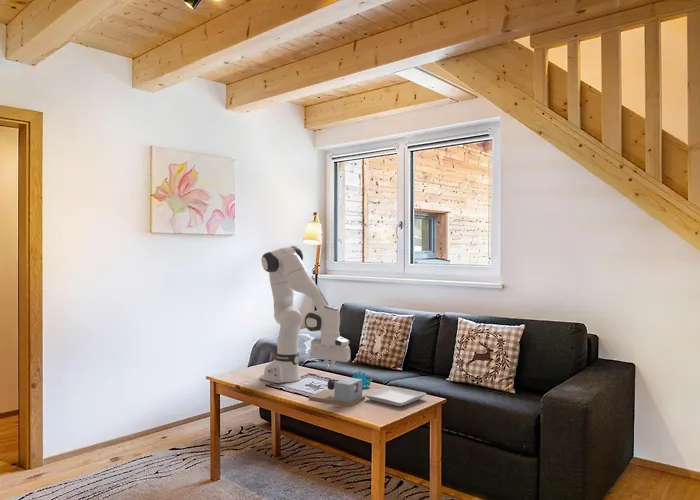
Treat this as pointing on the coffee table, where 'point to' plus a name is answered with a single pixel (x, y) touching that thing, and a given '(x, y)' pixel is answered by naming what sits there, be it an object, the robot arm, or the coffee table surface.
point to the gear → (363, 379)
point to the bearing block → (341, 393)
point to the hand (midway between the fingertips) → (329, 369)
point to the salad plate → (395, 396)
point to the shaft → (331, 385)
